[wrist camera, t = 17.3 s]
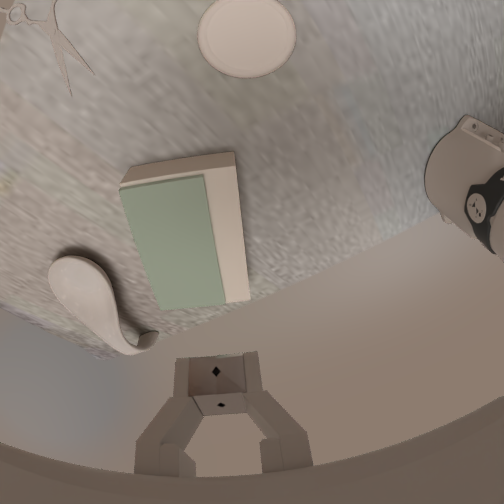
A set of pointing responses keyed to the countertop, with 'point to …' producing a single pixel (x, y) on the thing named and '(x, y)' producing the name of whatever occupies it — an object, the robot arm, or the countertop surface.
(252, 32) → the beige short cylinder
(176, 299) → the cover
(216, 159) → the beige rectangular box
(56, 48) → the scissors
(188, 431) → the robot arm
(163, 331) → the countertop surface
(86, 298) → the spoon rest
